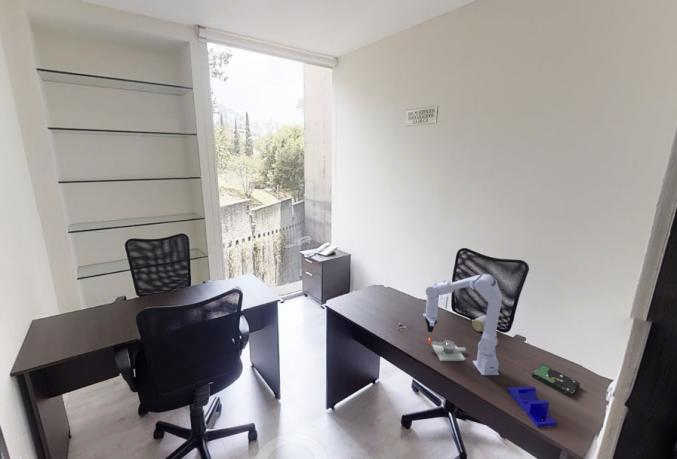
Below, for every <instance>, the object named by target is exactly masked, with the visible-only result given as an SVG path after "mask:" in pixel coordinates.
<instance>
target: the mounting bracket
mask: <svg viewBox="0 0 677 459" xmlns="http://www.w3.org/2000/svg"><path fill="white" fill-rule="evenodd" d="M536 390H537V389H536V388H535V386H511V387H510V386H509V387H507V392H508V393H509V395H510V396H511V397H512V398H513V399H514V400H515V402H516V403H517V404H518V405H519V406H520V408H521V409H522V410H523V411H524V412H526V413H525V414H526V415H527V416H528V418H529V419H530V420H531V421H532V423H534V425H535V426H536V427H537V428H549V427H548V426H552V427H557V425H558V423H557V421H555V419H554V418H553V417H552V415H550V414H549V413H548V410H549V404H550V402H549V401H548V400H540V399H539V398H538V395H537V391H536ZM542 419H543V420H542Z"/></svg>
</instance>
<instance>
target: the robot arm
mask: <svg viewBox="0 0 677 459" xmlns="http://www.w3.org/2000/svg"><path fill="white" fill-rule="evenodd" d="M498 284H499V283H498V280H497V279H496V278H495V277H494V276H493V275H492V274H489V273H484V274H482V275H481V274H477V275H473V276H470V277H466V278H462V279H460V280H459V279H458V280H457V281H450V280H447V279H445V280H443V281H442V282H438V283H437V282H435V283H432V284H430V285H429V286H428V287H426V288H425V294H426V306H425V313H423V314H422V316H423V317H424V318H425V323H426V326H427V327H426V328H427V332H428V333H433V332H434V328H435V326H436V325H437V323H438V321H437V320H438V317H439V316H438V312H439V300H440V298H439V297H440V296H444V295H447V294H452V293H454V292H455V290H458V289H462V288H463V289H464V288H471V289H472V290H475V291H476V292H478V293H479V294H480V295H482V296H484V297H485V298H486V299H487V300H488V304H487V309H486V310H487V311H486V314H485V316H486V321H485V327H484V332H483V331H482V335H481V337H480V338H481V339H480V341H479V342H478V343H477V348H478V349H477V357H476V360H472V363H473V365H474V366H475V368H476V369H477V370H478V371H479V373H480V374H481V376H499V375H500V373H499V366H500V365H499V360H498V358H497V355H496V354H497V351H496V345H498V342H499V339H498V335H497V334H498V333H497V327H498V324H499V319H500V311H501V307H502V302H503V294H502V292H501V289H500V288H499V285H498Z"/></svg>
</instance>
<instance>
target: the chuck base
mask: <svg viewBox="0 0 677 459" xmlns="http://www.w3.org/2000/svg"><path fill="white" fill-rule="evenodd" d="M431 346H432V348H433V351H434V352H435V353H436V356H437V357H438V359H439V361H440V362H446V361H448V362H449V361H450V362H451V361H452V362H453V361H454V362H457V361H463V362H464V361H466V358H465V356H464V355H463V354H462V352H466V351H467V349H466V347H458V346H457V344H455V350H453V351H448V350H446V349H444V348H443V347H442V346H438V345H431Z"/></svg>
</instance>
